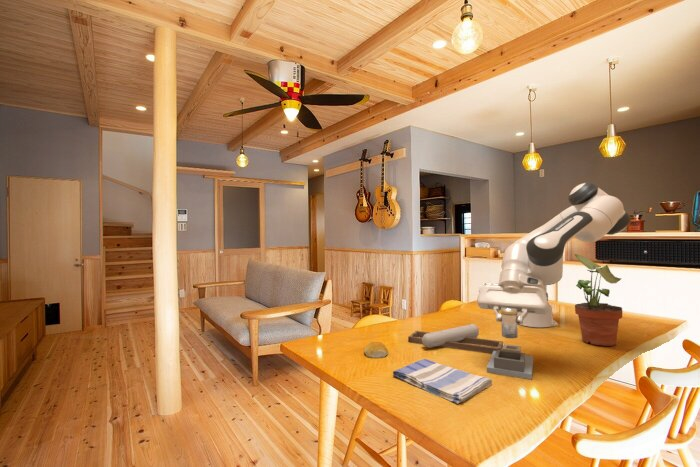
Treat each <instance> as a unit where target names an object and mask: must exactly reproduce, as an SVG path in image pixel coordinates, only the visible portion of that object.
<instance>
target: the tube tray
mask: <svg viewBox="0 0 700 467" xmlns="http://www.w3.org/2000/svg"><path fill="white" fill-rule="evenodd" d="M427 333H431V332H429V331H420V330H416V331H414V332H412V333H411V334H410V335H409V336H408V337H407V338H408V340H407V342H408V343H412V344H413V343H414V344H421V345H423V343H422V337H423V336H424V335H425V334H427ZM503 346H504V342H503V341H502V340H493V339H488V338H487V339H485V338H479V337H477V338H471V337H466V338H464V339H463V340H462V341H458V342H450V341H447V342H445V343H444V344H443V345H441V346H440V347H441V348H448V349H457V350H463V351H470V352H477V353H484V354H491V355H492V353H493V351H497V350H503Z"/></svg>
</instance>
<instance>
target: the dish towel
mask: <svg viewBox="0 0 700 467" xmlns="http://www.w3.org/2000/svg"><path fill="white" fill-rule="evenodd" d="M392 374H393V375H392V376H393V377H395V378H398V379H399V380H402V381H404V382H406V383H408V384H409V385H412V386H414V387H417V388H419V389H422V390H424V391H425V392H427V393H429V394H432V395H434V396H437V397H440V398H443V399H446V400H447V401H450V402H452V403H454V404H457V405H458V404H460V403H464V402H465V401H468V400H469V399H470V398H472V397H473V396H475V395H476V394H478V393H480V392H482V391H483V390H486V389H487V388H488V387H489V388H490V386H492V384H493V380H492V379H491V378H490V377H486V376H481V375H476V374H473V373H470V372H468V371H465V370H464V371H463V370H461V369H457V368H454V367H451V366H448V365H446V364H441V363H437V362H436V361H433V360H430V359H427V358H424V359H421V360H418V361H415V362H412V363H410V364H408V365H406V366H403V367H401V368H399V369H395V370H394V371H393V372H392Z"/></svg>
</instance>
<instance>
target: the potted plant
mask: <svg viewBox="0 0 700 467" xmlns="http://www.w3.org/2000/svg"><path fill="white" fill-rule="evenodd" d="M574 256H575V258H577V260H578V261H579V262H580V263H581V264H583V266H584V267H586V268H587V271H588V272H589V273H591V274H590V280H585V279H578V280H577V284H576V285H575V287H577V288H579V290H582V289H583V290H582V291H583V294H584V299H585V301H586V302H581V303H577V304H576V303H575V304H574V311H575V312H574V313H575V314H576V315H578V316H577V317H578V321H579V327H580V332H581V338H582V341H583V342H584V343H586V344H589V343H590V344H591V345H594V346H604V347H605V346H606V347H610V346H611V347H612V346H615V345H616V344H617V335H618V331H619V329H618V328H619V322H620V319H622V318H623V307H621V306H616V305H612V304H608V303H606V302H605V303H604V302H600V300H601V294H602V295H603V296H606V297H610V289H608V288H601V289H600V284H601V280H598V281H599V282H598V287H597V289H596V285H597V279H598V276H599V275H600V277H599V279H601V278H603V279H604V280H605V281H606V282H607V283H609V284H617V283H618V282H620V281H621V280H622V278H621V277H617V276H615V275H614V274H613V273H612V272H611V270H610V267H609V266H608V265H609V264H606V265H604V266H603V267H602V266H601V265H599V263H596V262H594V261H592V260H590V259H589V258H587V257H584V256H583V255H580V254H577V253H575V254H574ZM593 273H597V274H596V276H595V277H596V278H595V281H594V286H593ZM589 284H590V285H589ZM599 293H600V294H599Z"/></svg>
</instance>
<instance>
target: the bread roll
mask: <svg viewBox="0 0 700 467" xmlns="http://www.w3.org/2000/svg"><path fill="white" fill-rule="evenodd" d="M363 353H364V354H365V355H366V357H368V358H372V359H380V358H385V357H386V356H387V355H388V354H389V349H388V348H387V347H386V346H385V344H384V343H382V342H379V341H372V342H370V343H368V344H367V345H365V347H364V352H363Z"/></svg>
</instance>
